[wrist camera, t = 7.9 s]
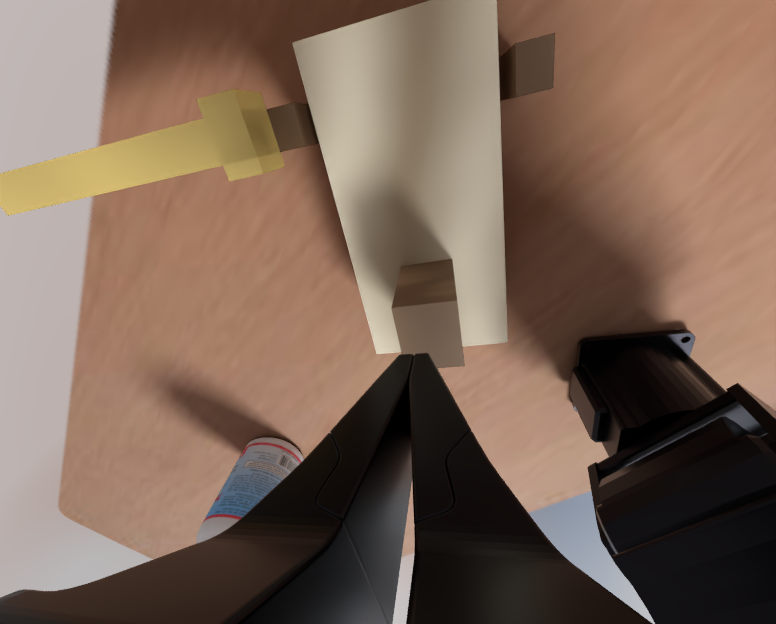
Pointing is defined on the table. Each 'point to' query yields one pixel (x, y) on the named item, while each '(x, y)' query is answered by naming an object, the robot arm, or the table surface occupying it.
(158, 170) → the yellow long bar
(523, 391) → the table surface
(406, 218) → the lid
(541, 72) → the toolbox
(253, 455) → the pill bottle
